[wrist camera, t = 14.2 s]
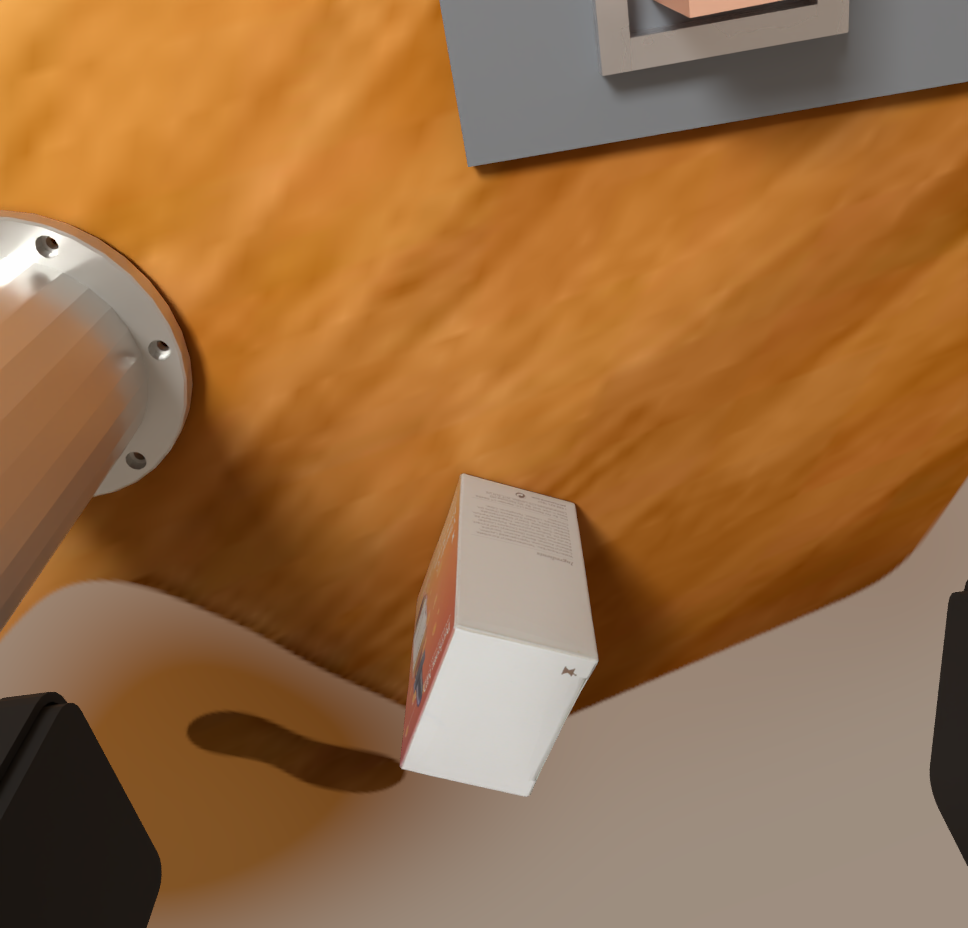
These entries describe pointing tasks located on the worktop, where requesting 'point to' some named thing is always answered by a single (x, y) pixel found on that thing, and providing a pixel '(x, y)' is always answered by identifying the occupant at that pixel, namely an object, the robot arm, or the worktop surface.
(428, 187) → the worktop surface
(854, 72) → the nest board
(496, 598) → the small box
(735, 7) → the key block
